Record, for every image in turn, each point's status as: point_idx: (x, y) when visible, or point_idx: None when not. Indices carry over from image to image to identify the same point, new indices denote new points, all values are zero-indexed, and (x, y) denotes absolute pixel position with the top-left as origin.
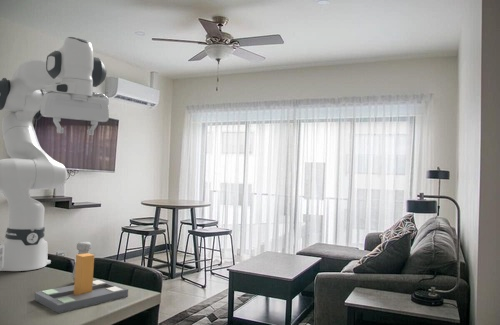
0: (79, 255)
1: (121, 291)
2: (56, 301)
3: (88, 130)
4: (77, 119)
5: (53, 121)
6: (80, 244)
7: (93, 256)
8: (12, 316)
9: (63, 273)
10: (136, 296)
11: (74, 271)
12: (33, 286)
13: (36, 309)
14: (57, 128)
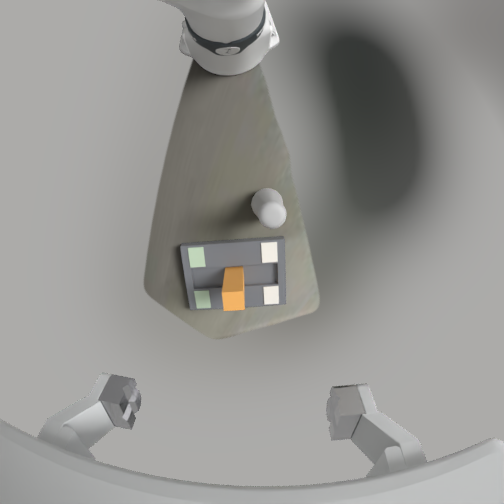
0: (223, 300)
1: (275, 304)
2: (192, 296)
3: (337, 419)
4: (246, 490)
5: (51, 421)
6: (261, 222)
7: (242, 308)
8: (150, 285)
9: (268, 124)
10: (293, 305)
11: (253, 207)
12: (199, 176)
13: (175, 279)
14: (95, 398)
